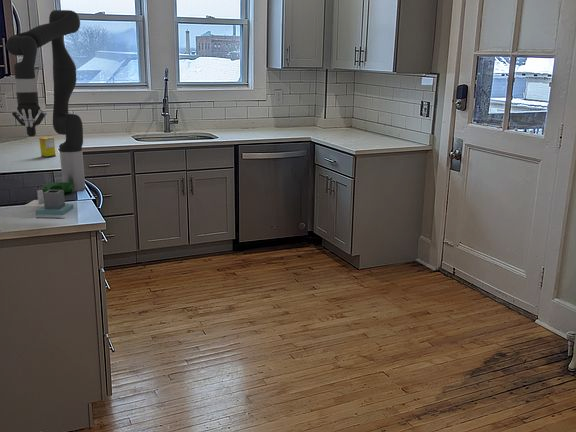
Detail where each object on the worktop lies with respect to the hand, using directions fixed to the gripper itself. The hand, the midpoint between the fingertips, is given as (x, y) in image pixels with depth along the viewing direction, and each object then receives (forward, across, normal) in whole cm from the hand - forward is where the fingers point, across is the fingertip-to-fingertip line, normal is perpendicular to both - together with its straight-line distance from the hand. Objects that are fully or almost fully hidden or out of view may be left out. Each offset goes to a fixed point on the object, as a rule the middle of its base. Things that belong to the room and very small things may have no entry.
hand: (31, 136), depth 231 cm
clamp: (+27, -3, -12) cm, 30 cm away
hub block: (+27, -14, +16) cm, 34 cm away
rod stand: (+27, -3, +4) cm, 28 cm away
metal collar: (+24, -14, +16) cm, 32 cm away
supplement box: (+27, +44, -109) cm, 121 cm away
